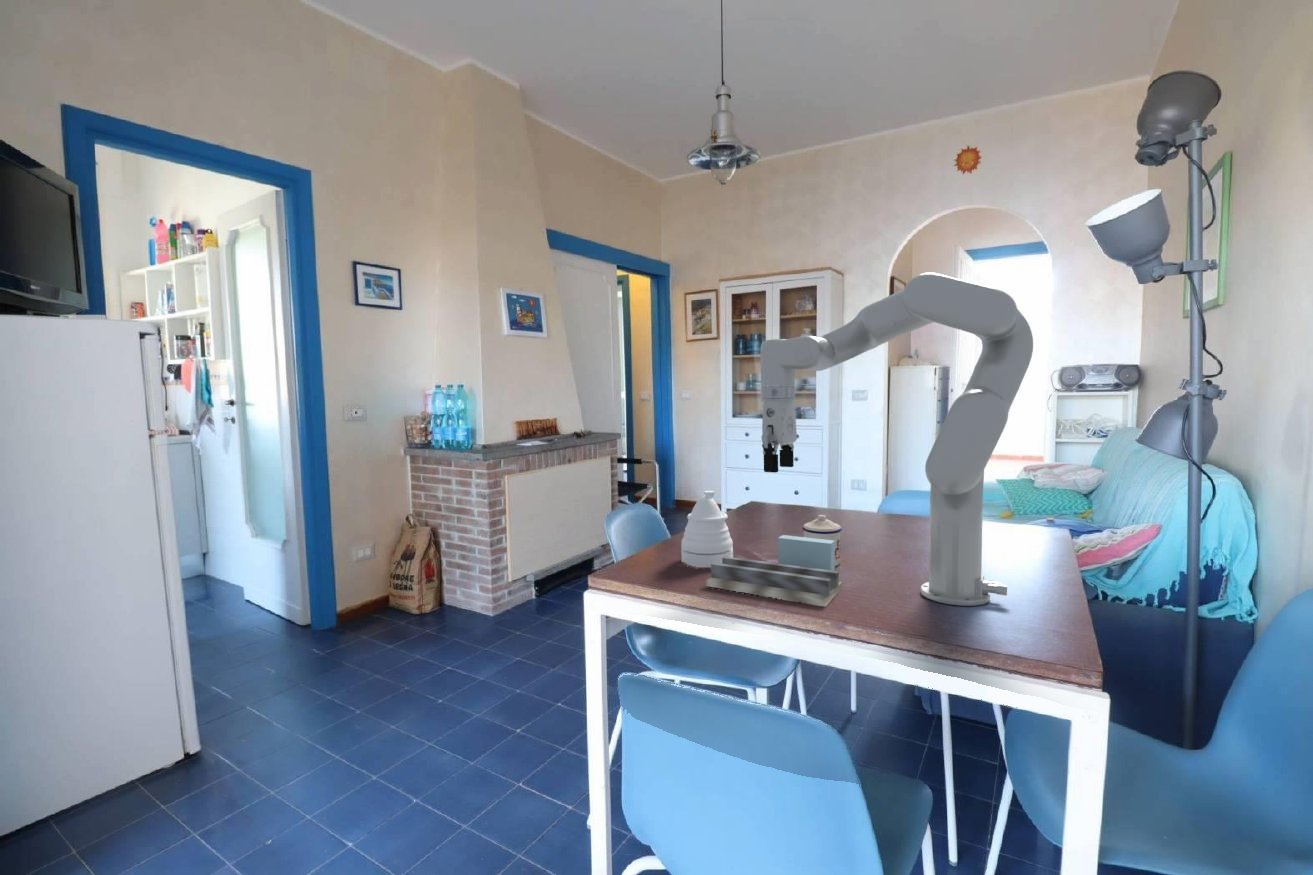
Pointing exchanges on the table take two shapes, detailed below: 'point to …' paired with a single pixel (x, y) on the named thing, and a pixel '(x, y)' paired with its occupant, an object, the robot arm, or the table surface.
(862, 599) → the table surface
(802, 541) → the door panel
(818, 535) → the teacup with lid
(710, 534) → the honey pot
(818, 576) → the track board
